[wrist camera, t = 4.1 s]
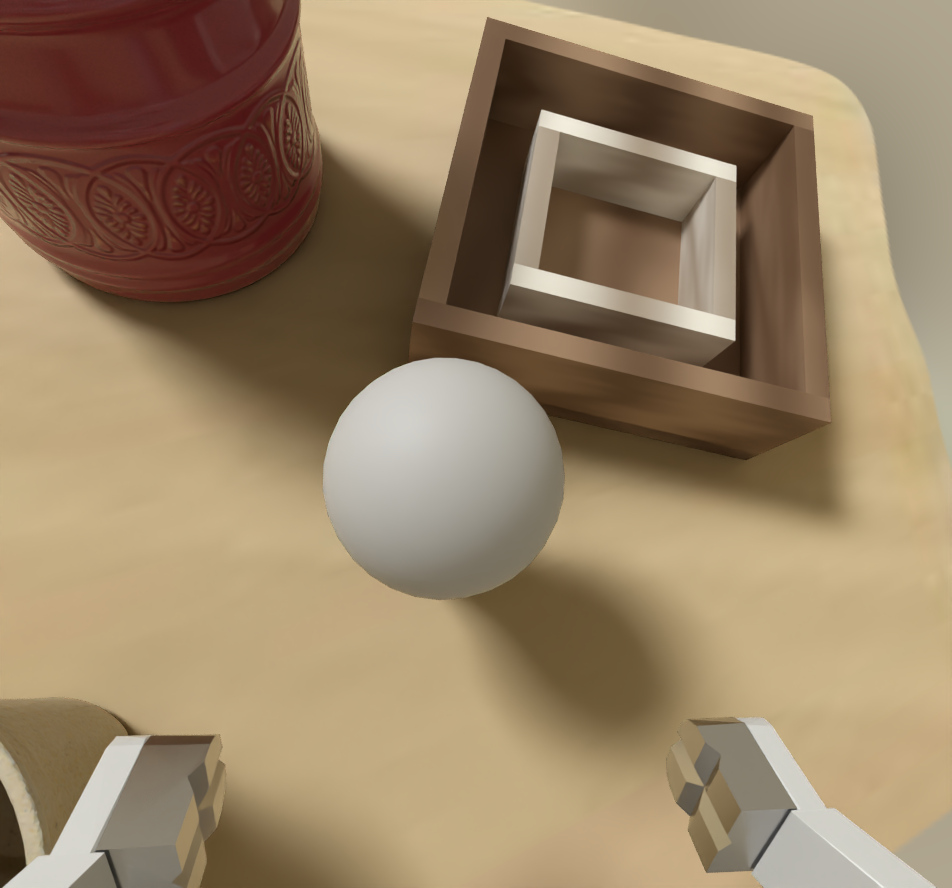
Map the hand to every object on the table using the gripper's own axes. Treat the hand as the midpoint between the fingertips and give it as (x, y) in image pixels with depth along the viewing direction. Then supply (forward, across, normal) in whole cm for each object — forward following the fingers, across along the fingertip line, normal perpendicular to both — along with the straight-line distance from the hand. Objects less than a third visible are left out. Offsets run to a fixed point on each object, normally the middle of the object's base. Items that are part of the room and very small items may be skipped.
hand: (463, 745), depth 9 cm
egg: (+12, 0, +4) cm, 12 cm away
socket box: (+21, -8, -5) cm, 23 cm away
